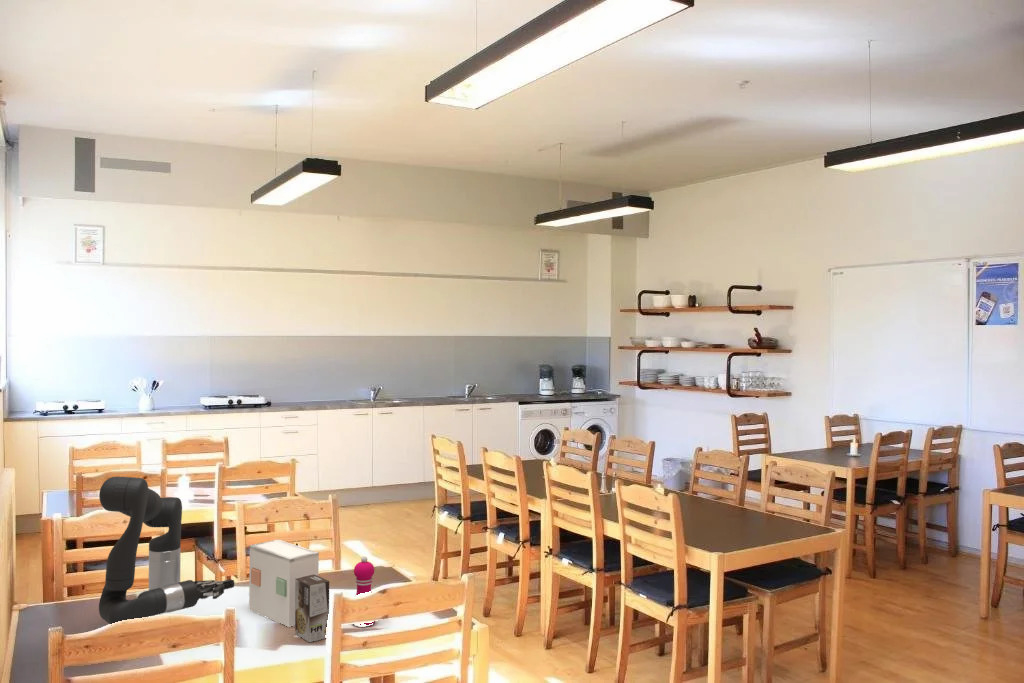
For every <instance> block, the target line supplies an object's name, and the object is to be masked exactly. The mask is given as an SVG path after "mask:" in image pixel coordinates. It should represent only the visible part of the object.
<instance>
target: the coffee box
mask: <svg viewBox="0 0 1024 683" xmlns="http://www.w3.org/2000/svg"><path fill="white" fill-rule="evenodd" d="M330 582H331V581H329V579H326V578H323V577H321V576H320V575H318V576H317V575H315V574H314V575H309V576H305V577H301V578H296V579H295V626H294V628H295V630H294V633H295V635H296V634H297V636H298V635H299V636H298V637H300V638H301V637H302V638H301V639H303V640H304V641H306V642H308V643H314V642H317V641H318V642H319V641H320V640H321V639H322V640H326V639H325V635H326V627H327V620H328V614H329V615H330ZM313 641H314V642H313Z"/></svg>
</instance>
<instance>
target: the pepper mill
mask: <svg viewBox="0 0 1024 683" xmlns="http://www.w3.org/2000/svg"><path fill="white" fill-rule="evenodd" d="M360 559H361V560H360V562H358V563H356V564H355V565H354V569H353V575H354V576H355V577H356V578H355V585H356V592H355V593H356V594H355V596H356V595H358V594H360V593H365V592H369V591H371V592H372V584H373V582H374V581H373V575H374V574H375V567H374V565H373V563H372V562H370V561H368V557H366V556H362V557H361V558H360ZM372 623H374V624H375V621H374V622H372ZM372 623H364V624H366V625H369V624H372ZM360 625H361V624H360Z"/></svg>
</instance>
